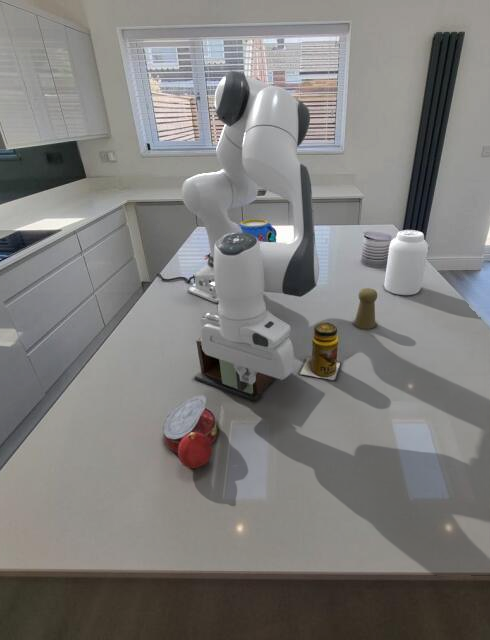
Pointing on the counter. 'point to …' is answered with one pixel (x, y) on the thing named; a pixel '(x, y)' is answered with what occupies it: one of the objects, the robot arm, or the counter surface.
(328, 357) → the condiment
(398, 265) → the white jar
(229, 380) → the sliding door
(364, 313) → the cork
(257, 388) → the cabinet
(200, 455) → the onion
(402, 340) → the counter surface
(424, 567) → the counter surface
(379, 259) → the can
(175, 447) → the canned food
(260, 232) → the ceramic pot
